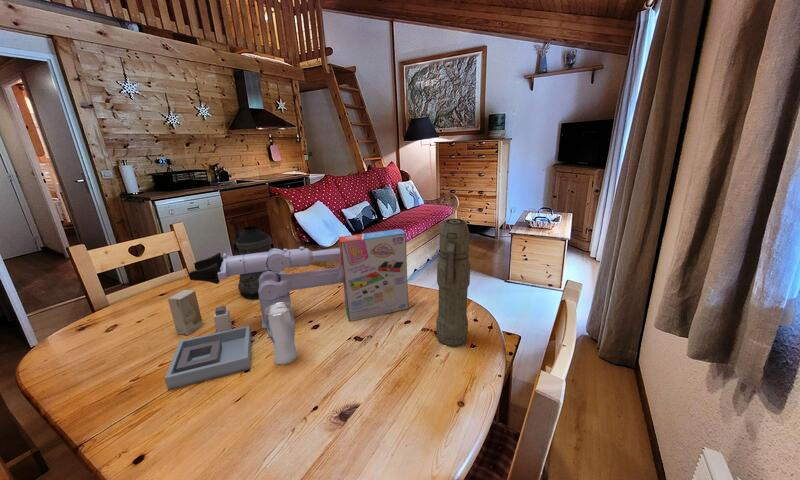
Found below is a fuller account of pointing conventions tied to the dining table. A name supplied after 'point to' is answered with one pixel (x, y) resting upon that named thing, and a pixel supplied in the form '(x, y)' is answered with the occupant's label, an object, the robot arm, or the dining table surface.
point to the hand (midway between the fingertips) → (192, 271)
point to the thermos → (453, 283)
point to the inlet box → (210, 357)
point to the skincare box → (185, 312)
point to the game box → (374, 273)
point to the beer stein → (249, 244)
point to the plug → (222, 319)
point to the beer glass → (281, 332)
